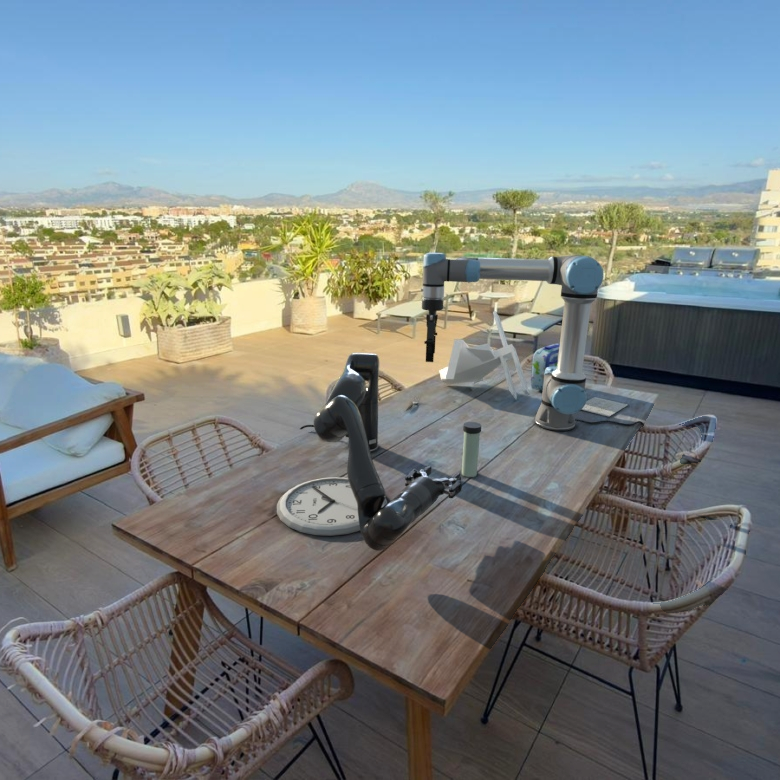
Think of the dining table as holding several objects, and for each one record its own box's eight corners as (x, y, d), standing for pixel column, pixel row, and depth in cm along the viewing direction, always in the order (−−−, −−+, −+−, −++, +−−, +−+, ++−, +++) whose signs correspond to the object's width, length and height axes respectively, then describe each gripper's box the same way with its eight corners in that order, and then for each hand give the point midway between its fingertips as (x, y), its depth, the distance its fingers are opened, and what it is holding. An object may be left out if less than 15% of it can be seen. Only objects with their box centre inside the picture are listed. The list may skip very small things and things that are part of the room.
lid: (484, 431, 158) (485, 425, 157) (472, 435, 155) (472, 429, 154) (472, 426, 162) (472, 420, 161) (459, 429, 159) (459, 424, 158)
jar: (479, 474, 162) (483, 426, 157) (469, 478, 159) (472, 430, 155) (469, 469, 166) (472, 422, 161) (458, 473, 163) (461, 425, 158)
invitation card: (608, 416, 214) (573, 407, 224) (608, 416, 214) (573, 408, 224) (628, 404, 229) (594, 396, 238) (628, 405, 229) (594, 397, 238)
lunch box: (547, 395, 239) (552, 351, 233) (526, 390, 247) (530, 347, 240) (574, 384, 257) (579, 343, 251) (554, 380, 264) (558, 339, 258)
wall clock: (392, 527, 129) (268, 531, 127) (391, 533, 130) (269, 537, 127) (383, 473, 158) (282, 475, 155) (383, 478, 158) (282, 480, 156)
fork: (403, 411, 216) (403, 406, 215) (414, 400, 230) (414, 395, 230) (409, 412, 215) (409, 407, 215) (420, 400, 229) (420, 396, 229)
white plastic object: (461, 429, 252) (437, 405, 227) (444, 352, 274) (420, 323, 250) (535, 404, 240) (518, 377, 215) (510, 326, 262) (492, 293, 237)
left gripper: (392, 503, 133) (420, 478, 147) (443, 518, 126) (468, 491, 140) (392, 476, 131) (421, 454, 145) (444, 490, 124) (469, 465, 138)
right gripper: (424, 293, 195) (422, 349, 202) (419, 302, 172) (417, 365, 178) (444, 294, 195) (441, 350, 201) (442, 303, 171) (439, 366, 177)
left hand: (444, 472), depth 142 cm, fingers open, 8 cm apart
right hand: (430, 357), depth 190 cm, fingers open, 13 cm apart
